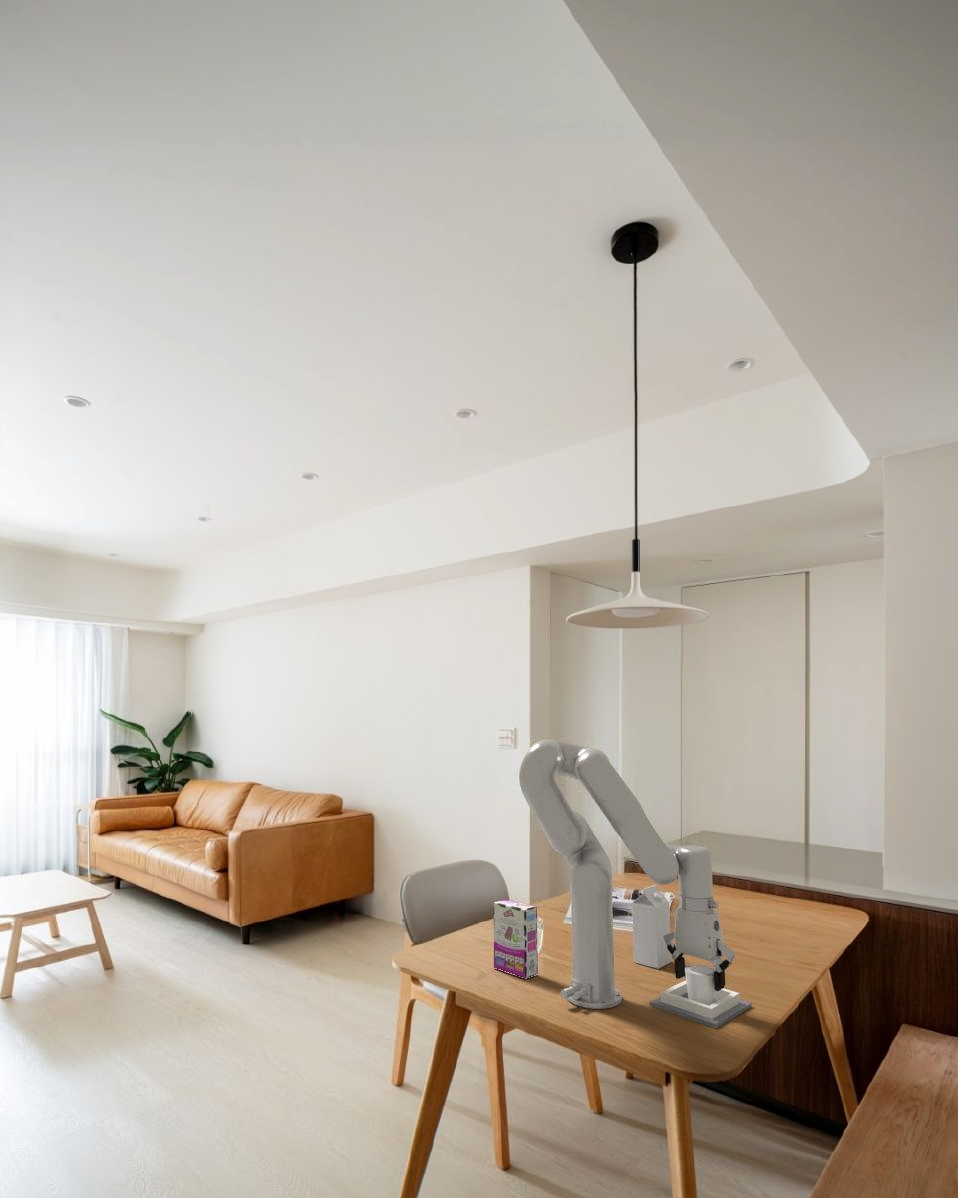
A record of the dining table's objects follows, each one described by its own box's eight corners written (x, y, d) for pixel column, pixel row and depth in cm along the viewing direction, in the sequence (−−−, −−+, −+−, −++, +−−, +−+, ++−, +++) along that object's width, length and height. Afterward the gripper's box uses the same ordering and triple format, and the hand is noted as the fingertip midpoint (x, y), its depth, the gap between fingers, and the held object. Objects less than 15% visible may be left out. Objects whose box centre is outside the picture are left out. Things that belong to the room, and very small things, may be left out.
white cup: (692, 994, 165) (691, 962, 166) (722, 1001, 161) (720, 968, 162) (681, 1004, 159) (680, 970, 160) (712, 1012, 155) (710, 977, 156)
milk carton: (633, 963, 187) (631, 887, 190) (647, 956, 193) (645, 882, 195) (658, 969, 183) (655, 891, 186) (671, 962, 188) (668, 886, 191)
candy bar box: (539, 975, 179) (538, 906, 181) (526, 980, 175) (525, 910, 178) (505, 964, 187) (505, 898, 189) (492, 969, 183) (492, 901, 186)
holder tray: (715, 1028, 149) (715, 1014, 149) (649, 1005, 161) (649, 992, 161) (751, 1006, 160) (751, 993, 160) (687, 986, 171) (687, 974, 172)
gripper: (740, 907, 160) (744, 989, 157) (671, 893, 172) (674, 969, 170) (723, 914, 155) (727, 999, 152) (654, 899, 167) (657, 977, 165)
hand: (699, 983), depth 161 cm, fingers open, 9 cm apart
